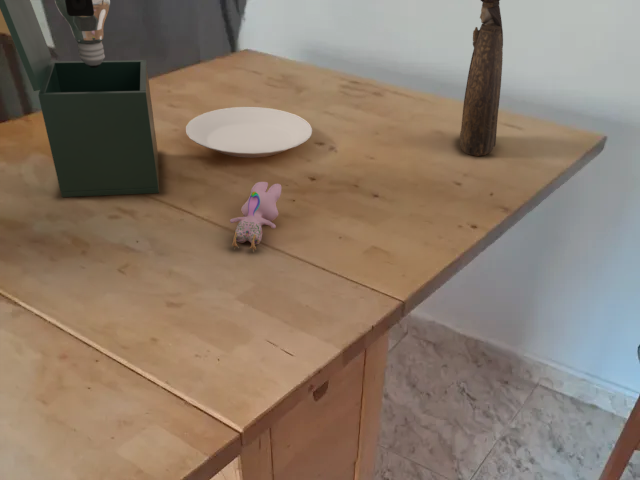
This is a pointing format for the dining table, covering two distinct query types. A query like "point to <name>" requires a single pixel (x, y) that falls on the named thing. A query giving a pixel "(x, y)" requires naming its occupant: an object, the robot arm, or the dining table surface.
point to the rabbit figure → (257, 213)
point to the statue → (483, 84)
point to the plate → (249, 131)
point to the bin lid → (27, 39)
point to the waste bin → (100, 127)
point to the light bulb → (88, 31)
